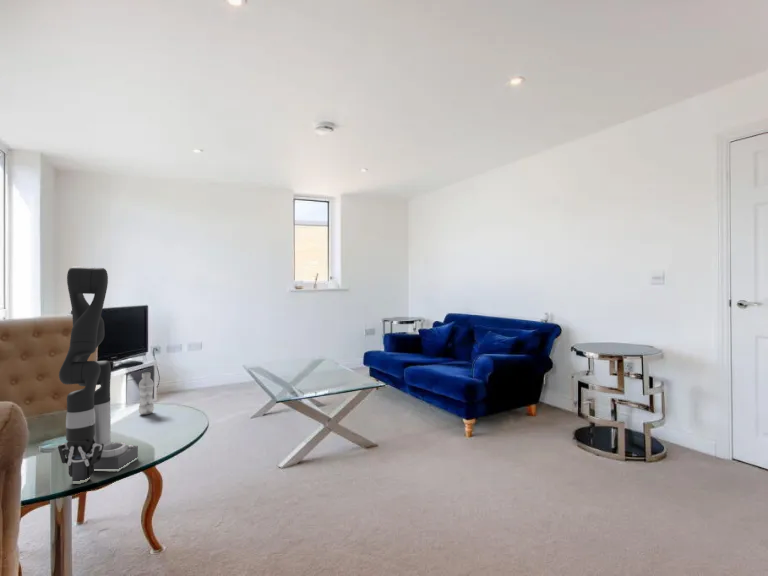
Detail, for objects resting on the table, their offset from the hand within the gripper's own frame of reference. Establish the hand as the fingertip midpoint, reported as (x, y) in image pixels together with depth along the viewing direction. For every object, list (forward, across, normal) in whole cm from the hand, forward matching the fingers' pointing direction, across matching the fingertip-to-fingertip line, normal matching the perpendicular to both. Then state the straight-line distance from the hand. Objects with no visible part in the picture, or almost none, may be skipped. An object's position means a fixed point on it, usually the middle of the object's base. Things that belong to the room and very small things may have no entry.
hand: (81, 475), depth 129 cm
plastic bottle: (+2, -22, +65) cm, 68 cm away
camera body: (+2, +2, +12) cm, 12 cm away
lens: (+2, 0, 0) cm, 2 cm away
